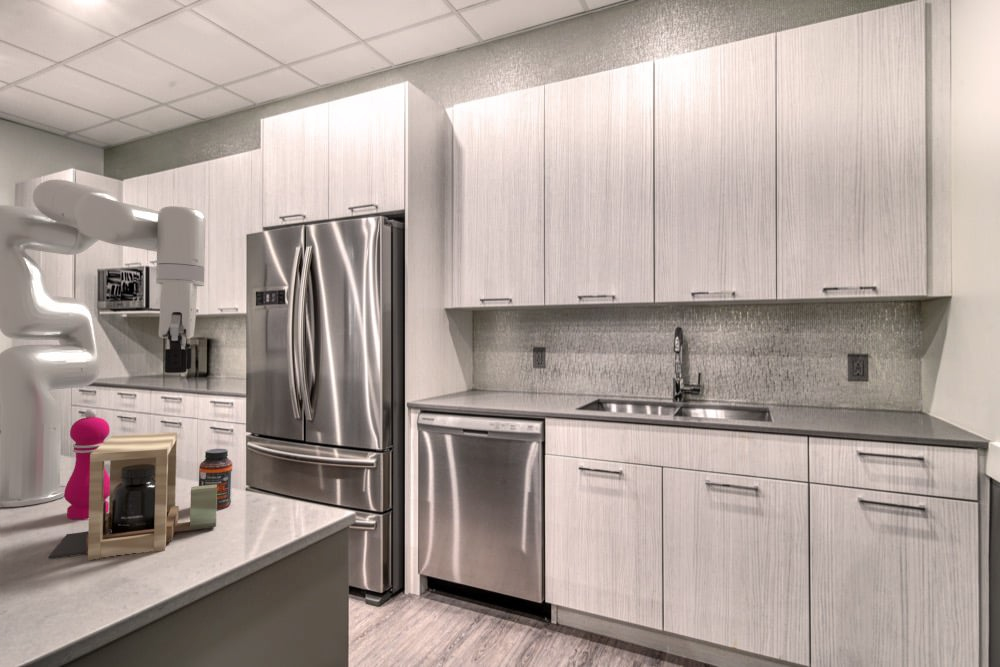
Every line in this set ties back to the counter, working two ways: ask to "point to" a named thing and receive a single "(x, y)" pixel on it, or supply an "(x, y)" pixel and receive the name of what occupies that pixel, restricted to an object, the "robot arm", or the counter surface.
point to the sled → (200, 515)
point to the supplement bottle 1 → (134, 500)
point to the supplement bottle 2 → (217, 475)
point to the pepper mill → (85, 464)
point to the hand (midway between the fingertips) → (178, 370)
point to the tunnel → (121, 454)
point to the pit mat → (70, 545)
